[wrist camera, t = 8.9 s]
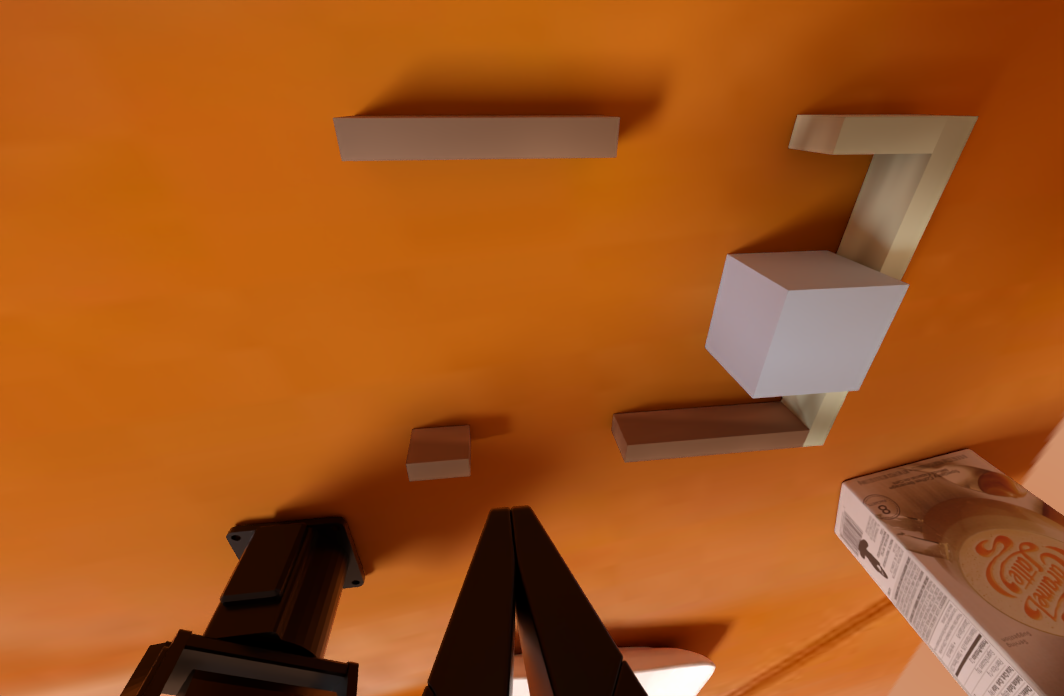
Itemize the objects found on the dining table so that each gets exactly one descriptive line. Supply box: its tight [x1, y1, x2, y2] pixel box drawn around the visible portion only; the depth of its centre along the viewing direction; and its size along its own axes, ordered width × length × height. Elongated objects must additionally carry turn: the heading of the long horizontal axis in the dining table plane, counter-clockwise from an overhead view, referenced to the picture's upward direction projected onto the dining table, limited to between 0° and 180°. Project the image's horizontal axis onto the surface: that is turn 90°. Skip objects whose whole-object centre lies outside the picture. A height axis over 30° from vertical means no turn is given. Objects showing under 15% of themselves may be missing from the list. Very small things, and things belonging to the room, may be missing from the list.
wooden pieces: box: [333, 115, 979, 481], centre depth 19 cm, size 16×22×2 cm
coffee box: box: [834, 449, 1064, 696], centre depth 23 cm, size 9×6×16 cm
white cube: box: [705, 250, 909, 398], centre depth 19 cm, size 5×5×4 cm
